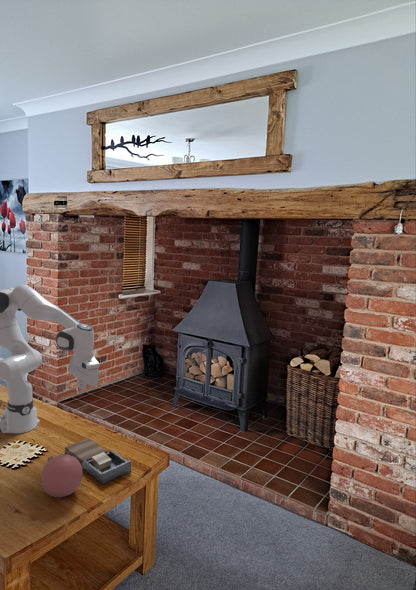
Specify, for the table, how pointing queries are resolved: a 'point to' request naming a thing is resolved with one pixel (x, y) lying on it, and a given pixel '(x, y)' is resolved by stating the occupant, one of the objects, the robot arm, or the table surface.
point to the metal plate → (84, 450)
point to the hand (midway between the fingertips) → (82, 388)
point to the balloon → (61, 475)
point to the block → (101, 461)
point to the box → (108, 468)
